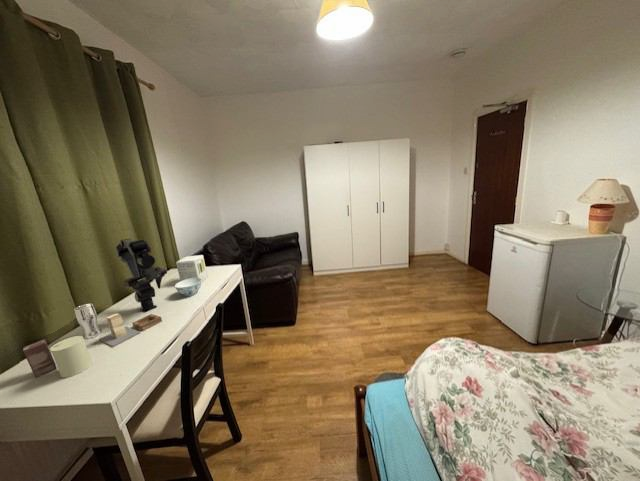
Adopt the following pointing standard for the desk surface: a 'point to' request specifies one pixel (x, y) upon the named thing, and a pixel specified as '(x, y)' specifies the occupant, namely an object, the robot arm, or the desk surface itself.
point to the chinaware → (188, 286)
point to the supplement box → (192, 268)
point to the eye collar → (140, 323)
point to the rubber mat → (114, 342)
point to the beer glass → (87, 320)
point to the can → (71, 356)
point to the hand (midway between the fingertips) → (150, 291)
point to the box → (39, 358)
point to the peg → (116, 325)
